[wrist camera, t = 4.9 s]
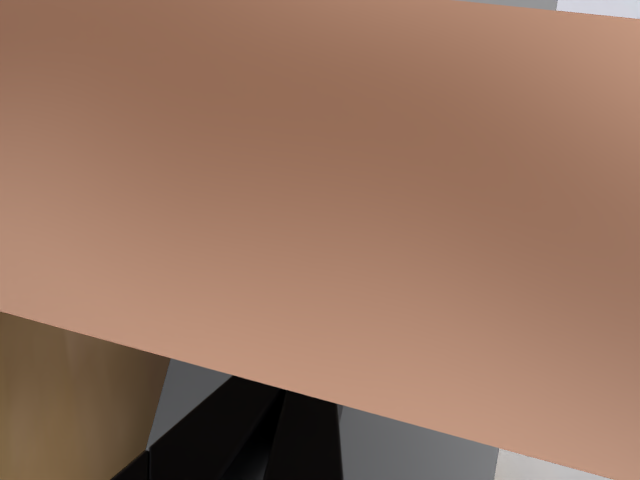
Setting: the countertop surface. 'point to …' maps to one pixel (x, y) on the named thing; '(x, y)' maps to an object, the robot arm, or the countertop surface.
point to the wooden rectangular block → (341, 204)
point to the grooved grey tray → (356, 415)
